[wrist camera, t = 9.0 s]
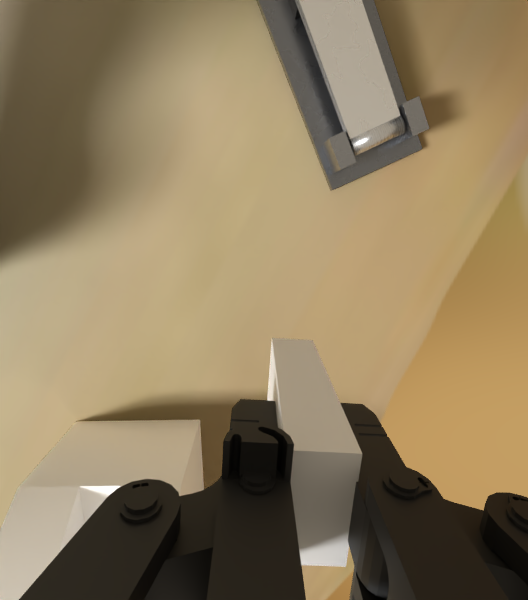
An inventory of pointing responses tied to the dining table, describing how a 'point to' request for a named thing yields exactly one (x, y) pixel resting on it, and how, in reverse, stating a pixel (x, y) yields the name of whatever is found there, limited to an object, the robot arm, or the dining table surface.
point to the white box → (89, 487)
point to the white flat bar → (352, 71)
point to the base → (318, 104)
